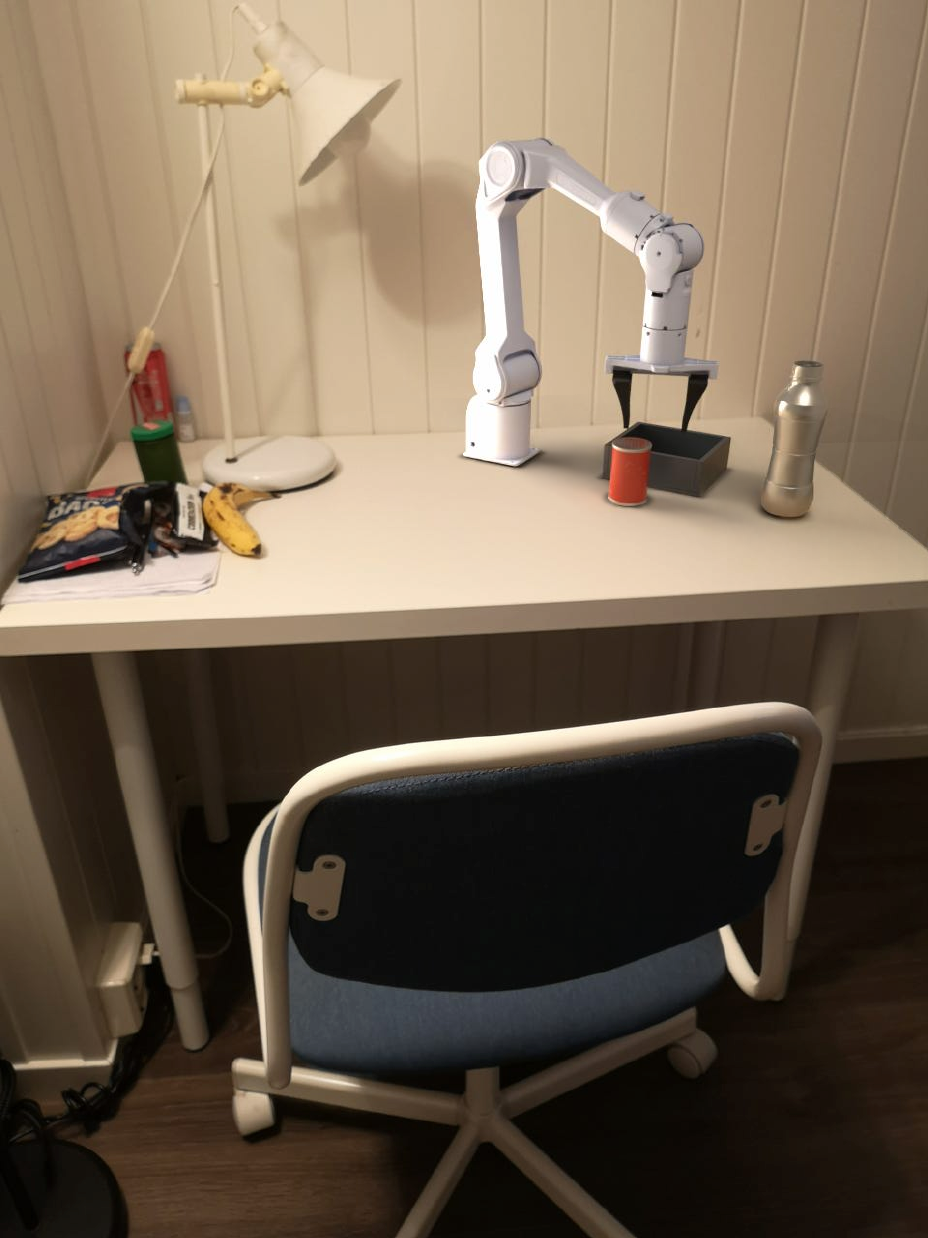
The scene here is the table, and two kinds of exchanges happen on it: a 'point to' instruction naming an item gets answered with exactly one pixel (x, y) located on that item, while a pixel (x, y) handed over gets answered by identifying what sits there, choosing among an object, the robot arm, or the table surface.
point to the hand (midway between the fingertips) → (655, 428)
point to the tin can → (629, 471)
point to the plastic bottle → (795, 442)
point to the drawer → (678, 457)
